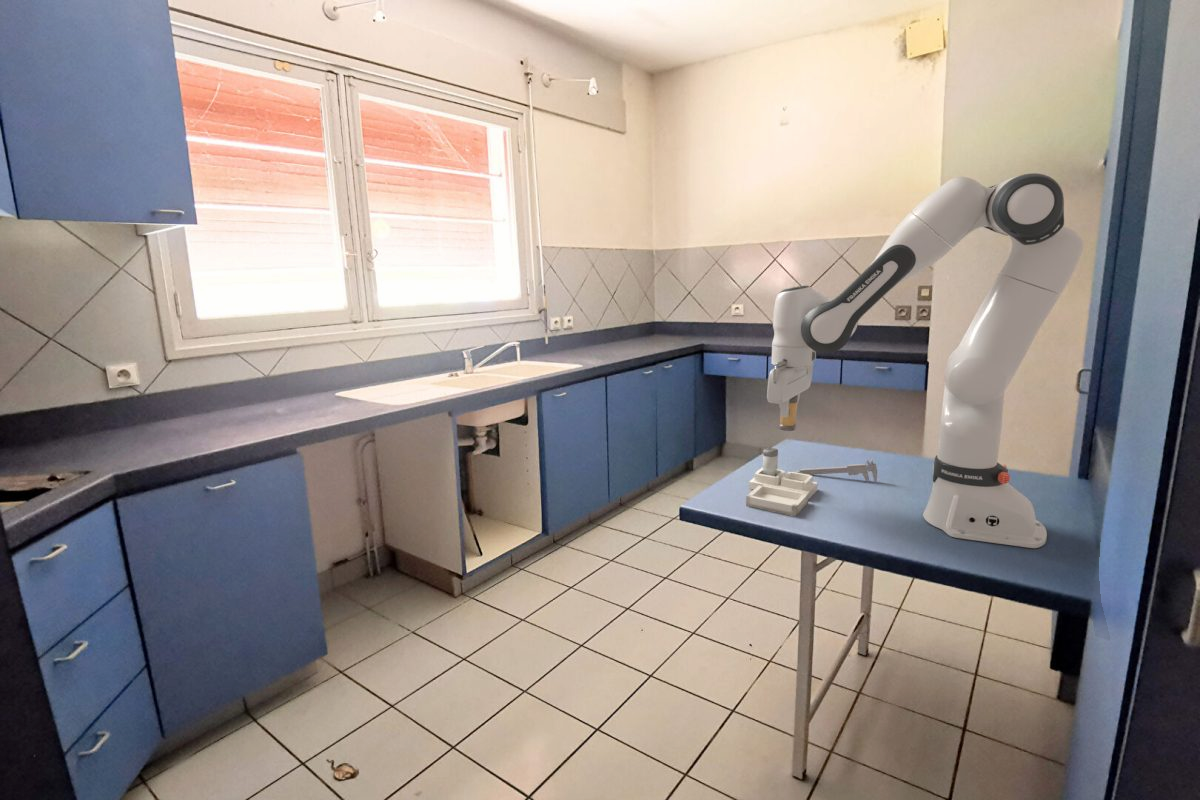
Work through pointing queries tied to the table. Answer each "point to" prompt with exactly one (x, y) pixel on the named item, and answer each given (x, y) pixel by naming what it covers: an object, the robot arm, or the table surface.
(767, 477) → the block
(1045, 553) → the table surface
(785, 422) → the fuse
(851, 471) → the caliper
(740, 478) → the table surface
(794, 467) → the table surface
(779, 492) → the parts tray
